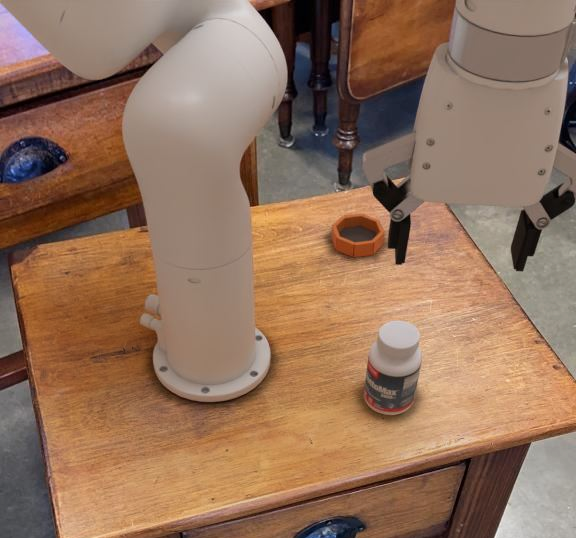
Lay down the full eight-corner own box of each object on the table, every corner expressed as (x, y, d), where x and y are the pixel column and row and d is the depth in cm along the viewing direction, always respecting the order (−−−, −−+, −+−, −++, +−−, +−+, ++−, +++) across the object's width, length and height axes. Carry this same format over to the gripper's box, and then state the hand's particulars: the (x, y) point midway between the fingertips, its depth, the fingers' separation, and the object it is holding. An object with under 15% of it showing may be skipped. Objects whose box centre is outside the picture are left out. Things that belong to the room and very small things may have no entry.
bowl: (323, 245, 102) (324, 232, 100) (348, 221, 105) (349, 208, 103) (365, 262, 100) (366, 250, 98) (390, 237, 103) (391, 224, 101)
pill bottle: (353, 399, 86) (359, 334, 79) (384, 373, 89) (393, 307, 82) (393, 424, 84) (403, 360, 77) (424, 397, 87) (437, 332, 79)
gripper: (629, 19, 56) (556, 235, 70) (375, 6, 56) (352, 224, 70) (651, 75, 52) (569, 293, 66) (375, 61, 52) (352, 281, 66)
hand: (457, 257), depth 68 cm, fingers open, 9 cm apart
